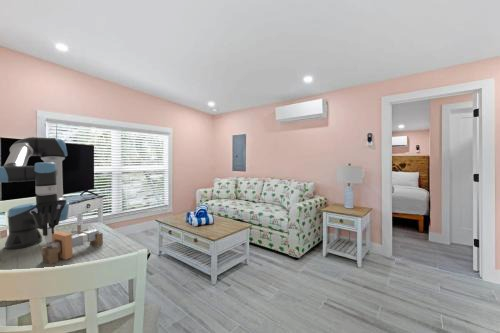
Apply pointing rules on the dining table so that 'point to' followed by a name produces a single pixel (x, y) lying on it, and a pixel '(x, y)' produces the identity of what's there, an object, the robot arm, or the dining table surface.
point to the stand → (52, 254)
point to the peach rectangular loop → (64, 244)
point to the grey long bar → (75, 239)
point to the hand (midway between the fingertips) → (48, 241)
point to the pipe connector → (78, 230)
